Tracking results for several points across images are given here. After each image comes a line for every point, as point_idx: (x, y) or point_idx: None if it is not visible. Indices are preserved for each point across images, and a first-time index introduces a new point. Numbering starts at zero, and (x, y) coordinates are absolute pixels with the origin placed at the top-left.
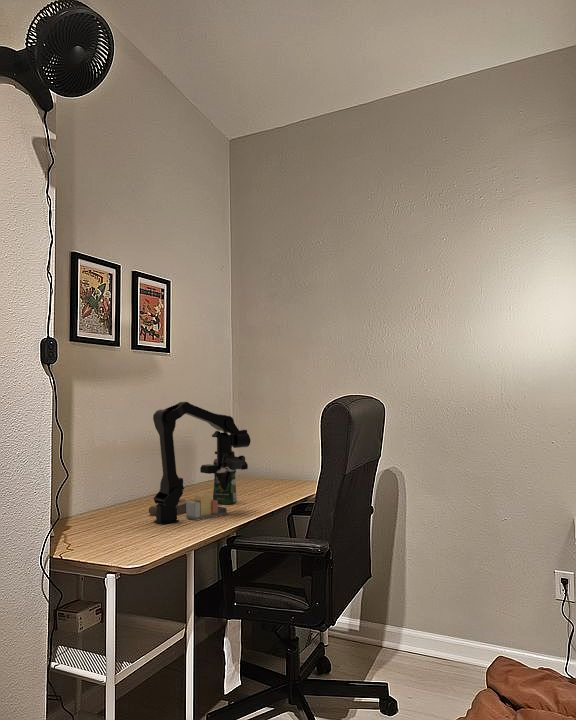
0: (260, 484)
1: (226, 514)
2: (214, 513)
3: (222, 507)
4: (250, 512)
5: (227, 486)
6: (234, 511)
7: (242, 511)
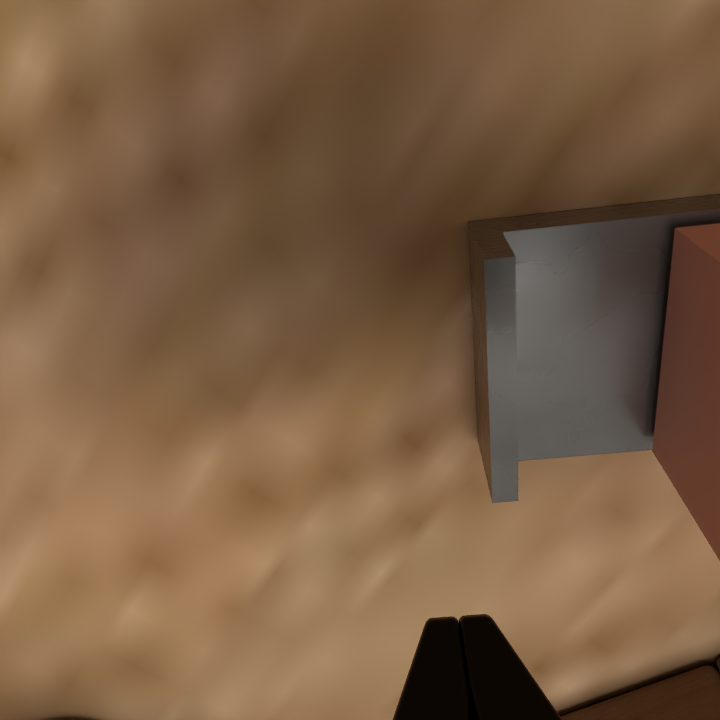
0: None
1: (475, 224)
2: None
3: (506, 355)
4: (32, 152)
5: (402, 696)
6: (225, 379)
7: (119, 307)
